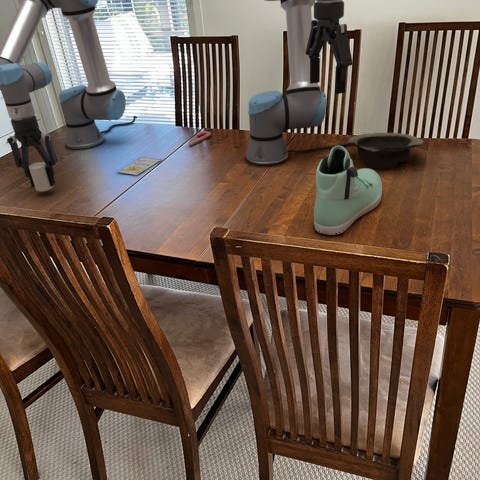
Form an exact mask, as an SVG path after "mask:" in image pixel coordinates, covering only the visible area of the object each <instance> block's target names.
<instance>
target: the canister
mask: <svg viewBox="0 0 480 480" xmlns="http://www.w3.org/2000/svg"><path fill="white" fill-rule="evenodd" d="M46 166H47V165H46V164H45V162H44V161H38V162H33V163H32V164H29V166H28V167H29V169H30V173H31V176H32V179H33V182H34V185H35V187H34V188H35V191H36V192H46V191H49V190H50V191H51V189H53V187H54V185H53V186H50V183H49V179H48V176H47V173H46V169H45V168H46Z"/></svg>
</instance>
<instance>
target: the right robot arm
mask: <svg viewBox="0 0 480 480" xmlns="http://www.w3.org/2000/svg"><path fill="white" fill-rule="evenodd" d="M264 1H265V2H266V1H267V2H275V1H278V0H264ZM279 3H280V8H281V9H283V11H284V12H285V19H286V20H285V21H286V35H287V51H288V66H289V81H290V85H289V86H288V87H287V88H286V94H285V95H283V94H282V92H281V91H279V90H267V91H263V92H259V93H257V94H254V95H253V96H252V97H250V99H249V100H248V111H247V113H248V119H249V120H248V121H249V143H248V148H247V151H246V162H247V163H248V164H250V165H253V166H257V167H274V166H278V165H281V164H284V163H285V162H287V160H288V159H289V153H294V154H295V153H297V154H298V153H299V154H300V153H308V152H313V151H318V150H326V149H327V150H328V149H332V148H333V147H334V146H342V147H346V146H347V147H348V146H352V145H351V144H348V143H349V142H347V143H341V144H334V145H325V146H318V147H313V148H306V149H288V148H287V146H286V142H285V140H284V134H283V133H284V132H283V131H287V130H300V129H310V128H316V127H317V128H318V127H321V125H322V124H323V122H324V121H325V116H326V111H327V95H326V93H325V92H324V91H321V86H320V85H319V84H318V83H320V82H321V54H320V53H321V51H322V49H323V47H324V45H325V43H327V44H328V45H329V46H330V48H331V51H332V54H333V57H334V60H335V62H336V65H335V67H334V68H335V72H334V94H335V95H340V94H346V86H347V85H346V84H347V74H348V73H347V70H348V67H350V66H353V64H354V63H353V57H352V52H351V47H350V42H349V37H348V25H347V23H342V24H341V23H340V19H342V18H343V17H344V15H345V2H344V0H279ZM312 7H313V16H312ZM313 18H314V19H313Z"/></svg>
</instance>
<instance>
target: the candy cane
mask: <svg viewBox="0 0 480 480" xmlns="http://www.w3.org/2000/svg"><path fill="white" fill-rule="evenodd" d="M211 135H212V134H211V132H210V131H206V130H204V131H202V130H201V131H199V132H197V133H196V137H198V138H197V139H195V140H192V141H190V142H189V143H188V146H189V147H192V146H194V145H196V144H198V143H200V142H203V141H204V140H206V139H208V138H210V137H211ZM200 136H201V137H200Z"/></svg>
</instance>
